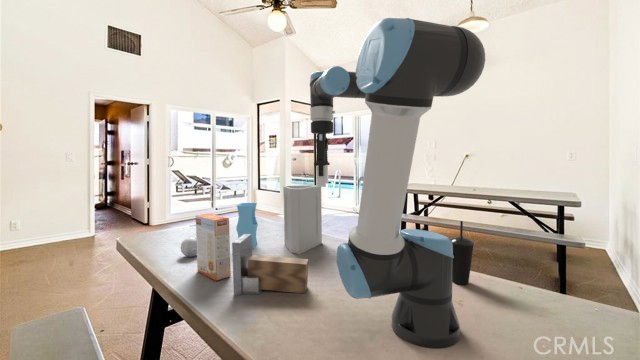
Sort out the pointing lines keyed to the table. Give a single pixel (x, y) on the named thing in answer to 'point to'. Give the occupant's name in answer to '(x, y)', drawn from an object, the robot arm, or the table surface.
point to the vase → (247, 221)
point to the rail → (279, 273)
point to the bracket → (243, 267)
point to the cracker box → (213, 246)
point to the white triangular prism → (302, 217)
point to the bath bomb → (189, 247)
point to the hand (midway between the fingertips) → (322, 185)
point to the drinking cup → (462, 258)
